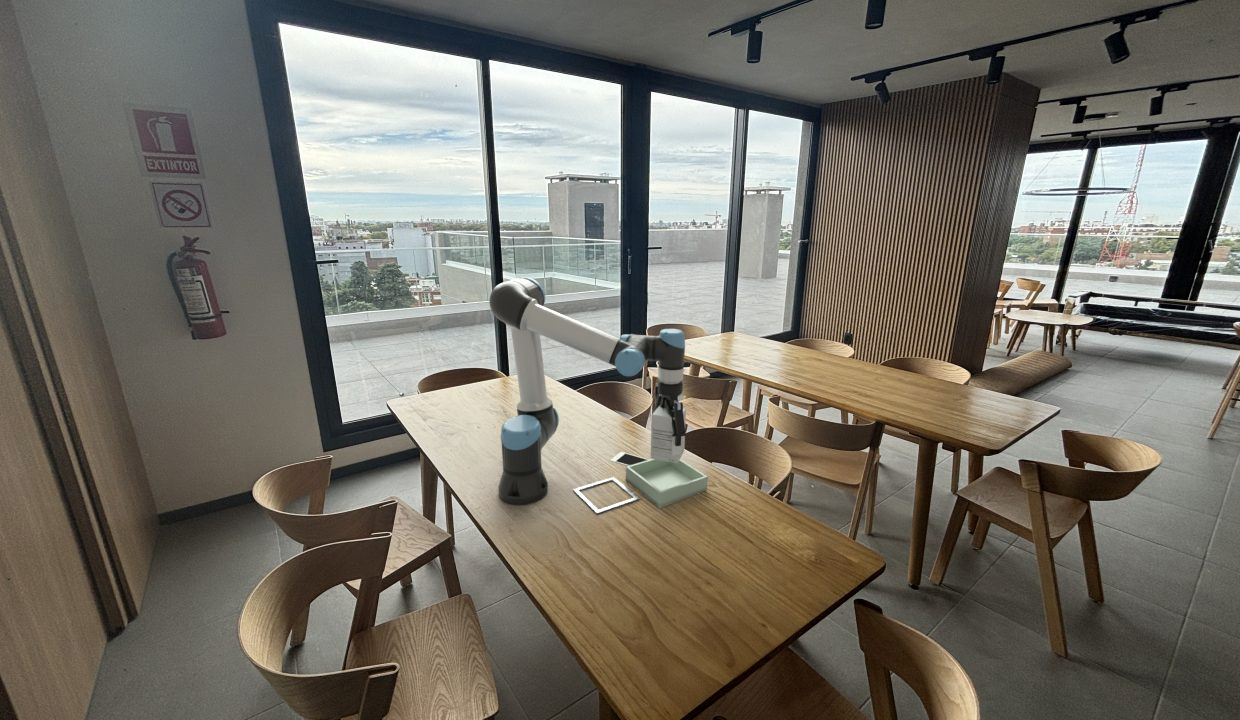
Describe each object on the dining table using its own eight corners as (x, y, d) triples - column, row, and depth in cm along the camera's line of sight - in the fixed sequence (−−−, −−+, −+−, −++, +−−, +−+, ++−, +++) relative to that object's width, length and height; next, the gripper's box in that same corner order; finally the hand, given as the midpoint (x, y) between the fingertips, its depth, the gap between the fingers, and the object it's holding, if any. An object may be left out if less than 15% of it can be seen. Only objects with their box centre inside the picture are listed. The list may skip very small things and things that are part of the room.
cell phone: (621, 453, 180) (621, 451, 180) (660, 464, 173) (660, 462, 172) (610, 461, 174) (610, 460, 174) (650, 473, 166) (650, 472, 166)
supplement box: (658, 446, 161) (659, 404, 157) (684, 451, 158) (686, 408, 154) (649, 458, 153) (650, 414, 149) (677, 464, 150) (679, 418, 145)
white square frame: (597, 514, 142) (597, 513, 142) (573, 490, 154) (573, 489, 154) (639, 499, 150) (639, 498, 150) (613, 478, 162) (613, 476, 162)
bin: (660, 508, 146) (660, 493, 144) (625, 480, 161) (626, 466, 159) (706, 490, 156) (707, 476, 154) (670, 466, 171) (671, 453, 169)
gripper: (700, 392, 138) (695, 461, 144) (666, 367, 160) (664, 428, 166) (675, 394, 136) (672, 464, 142) (645, 369, 158) (643, 431, 164)
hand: (667, 445), depth 154 cm, fingers closed on supplement box, 12 cm apart
